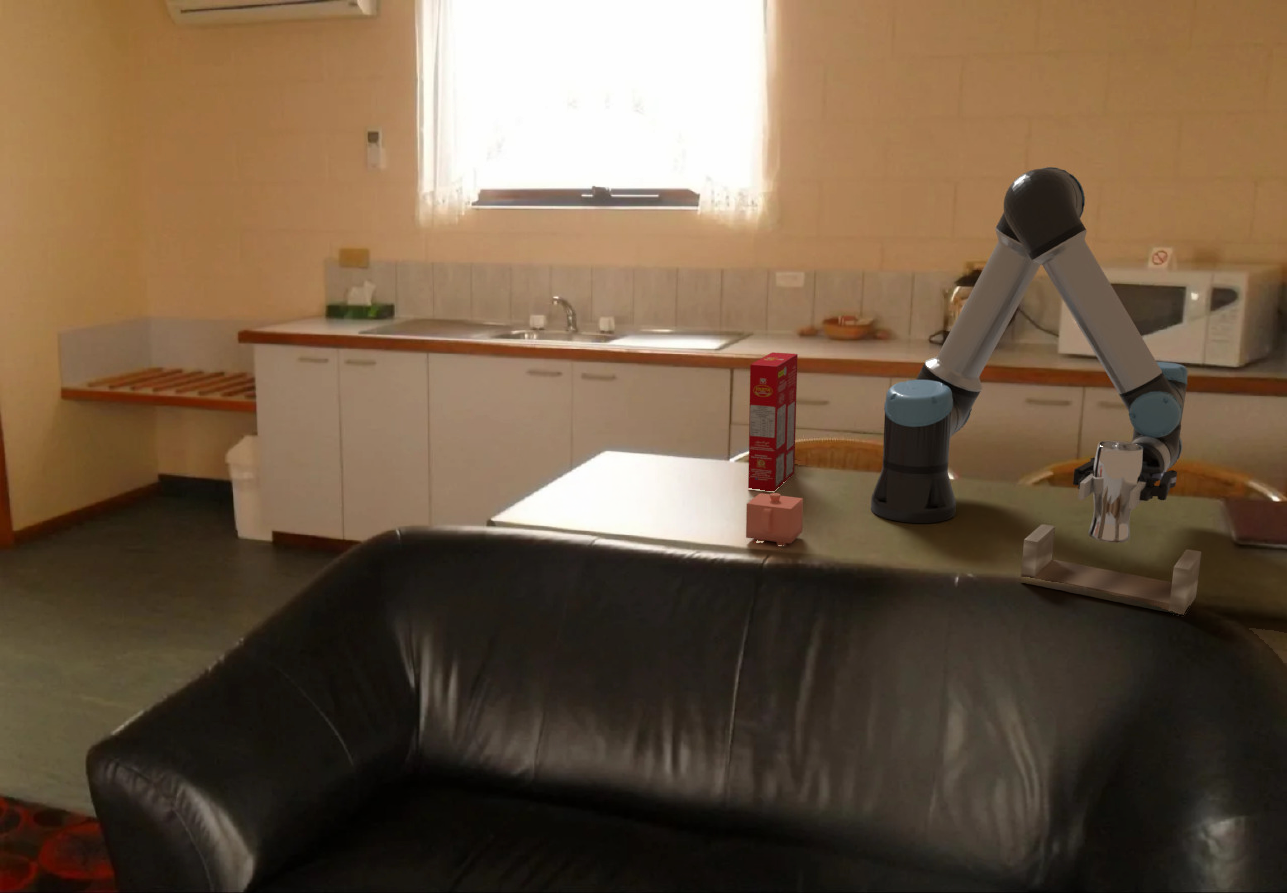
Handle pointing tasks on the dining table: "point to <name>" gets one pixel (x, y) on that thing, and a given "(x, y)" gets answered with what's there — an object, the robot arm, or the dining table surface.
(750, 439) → the food packaging
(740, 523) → the dining table surface
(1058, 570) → the board
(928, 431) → the robot arm
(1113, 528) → the beer glass
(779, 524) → the pink cube teapot
